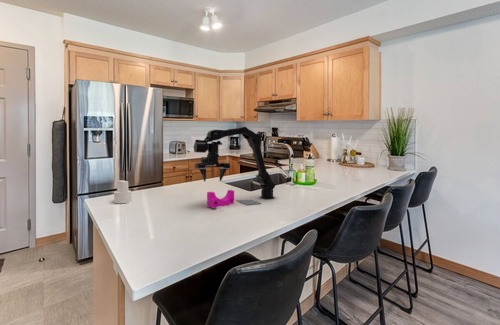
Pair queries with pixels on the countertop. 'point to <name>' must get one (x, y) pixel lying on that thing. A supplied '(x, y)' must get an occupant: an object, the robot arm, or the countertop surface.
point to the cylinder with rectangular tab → (122, 192)
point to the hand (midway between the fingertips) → (212, 181)
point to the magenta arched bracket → (216, 202)
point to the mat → (248, 202)
